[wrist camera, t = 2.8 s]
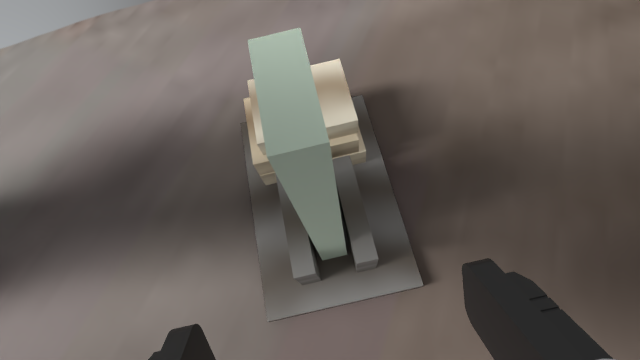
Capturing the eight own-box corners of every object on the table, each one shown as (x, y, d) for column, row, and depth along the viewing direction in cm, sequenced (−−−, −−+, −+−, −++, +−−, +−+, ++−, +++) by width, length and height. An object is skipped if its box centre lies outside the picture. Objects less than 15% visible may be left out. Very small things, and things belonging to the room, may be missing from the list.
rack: (421, 286, 27) (440, 274, 20) (270, 321, 27) (243, 320, 20) (362, 101, 34) (362, 50, 28) (243, 129, 34) (217, 84, 28)
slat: (347, 254, 27) (329, 141, 11) (322, 260, 27) (266, 156, 11) (333, 196, 29) (300, 27, 13) (310, 202, 29) (247, 40, 13)
